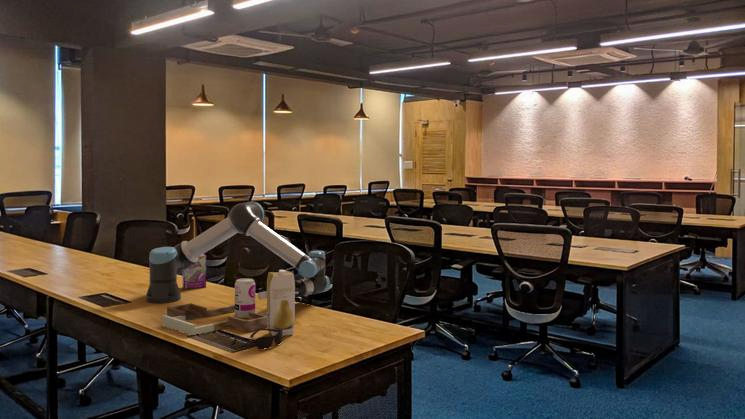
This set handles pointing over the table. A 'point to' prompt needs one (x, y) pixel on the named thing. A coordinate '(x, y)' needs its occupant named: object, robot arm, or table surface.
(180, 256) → the robot arm
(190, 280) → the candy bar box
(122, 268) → the table surface
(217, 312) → the brown shallow tray
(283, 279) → the juice carton
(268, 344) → the sunglasses
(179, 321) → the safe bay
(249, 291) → the supplement can
